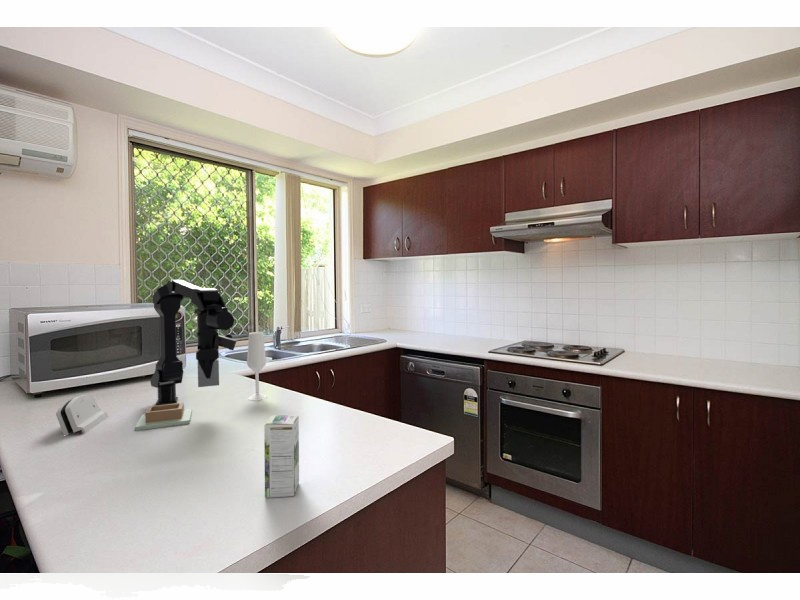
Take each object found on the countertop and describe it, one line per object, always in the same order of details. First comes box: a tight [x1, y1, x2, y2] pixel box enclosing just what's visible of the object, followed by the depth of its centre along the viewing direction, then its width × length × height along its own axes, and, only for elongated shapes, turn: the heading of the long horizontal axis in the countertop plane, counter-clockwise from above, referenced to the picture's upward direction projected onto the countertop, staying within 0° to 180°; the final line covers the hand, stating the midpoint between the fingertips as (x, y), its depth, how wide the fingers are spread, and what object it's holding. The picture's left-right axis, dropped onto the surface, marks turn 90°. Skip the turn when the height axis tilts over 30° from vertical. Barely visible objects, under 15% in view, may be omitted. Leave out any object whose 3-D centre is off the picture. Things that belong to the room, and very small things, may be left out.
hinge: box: [55, 394, 109, 436], centre depth 123 cm, size 17×5×10 cm, turn 16°
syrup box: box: [263, 414, 300, 499], centre depth 83 cm, size 6×6×14 cm
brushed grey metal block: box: [197, 357, 220, 388], centre depth 132 cm, size 4×6×8 cm, turn 114°
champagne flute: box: [246, 331, 267, 401], centre depth 152 cm, size 7×7×24 cm
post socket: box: [134, 402, 193, 431], centre depth 127 cm, size 13×14×4 cm
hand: (208, 376), depth 132 cm, fingers closed on brushed grey metal block, 4 cm apart
